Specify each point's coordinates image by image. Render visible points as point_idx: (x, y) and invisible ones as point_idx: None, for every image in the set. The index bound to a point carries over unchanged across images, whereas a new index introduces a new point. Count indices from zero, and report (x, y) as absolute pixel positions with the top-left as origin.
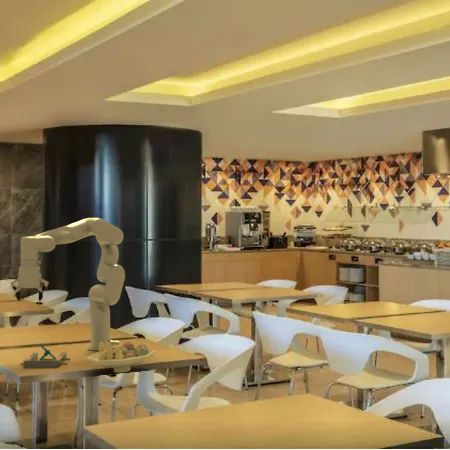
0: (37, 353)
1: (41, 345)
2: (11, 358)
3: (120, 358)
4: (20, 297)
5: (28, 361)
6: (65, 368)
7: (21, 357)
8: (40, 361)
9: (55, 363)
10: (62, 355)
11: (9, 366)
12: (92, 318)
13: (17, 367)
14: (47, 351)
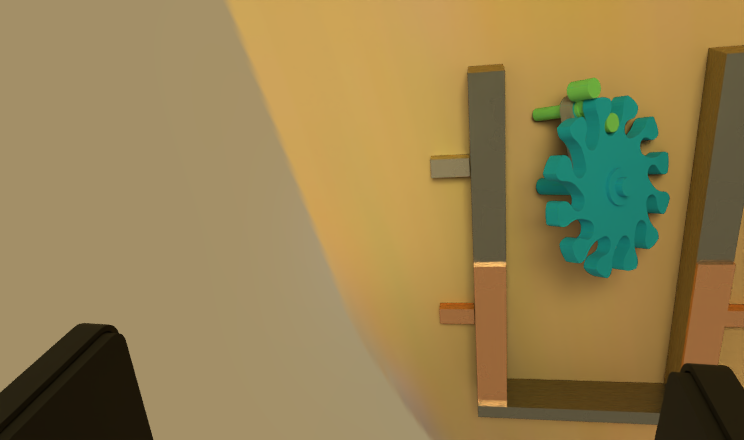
0: (504, 94)
1: (572, 257)
2: (306, 81)
3: None
4: (83, 397)
5: (508, 415)
6: None
7: (367, 39)
8: (584, 417)
9: None
10: (731, 208)
11: (385, 340)
12: None
13: (439, 370)
14: (619, 268)
